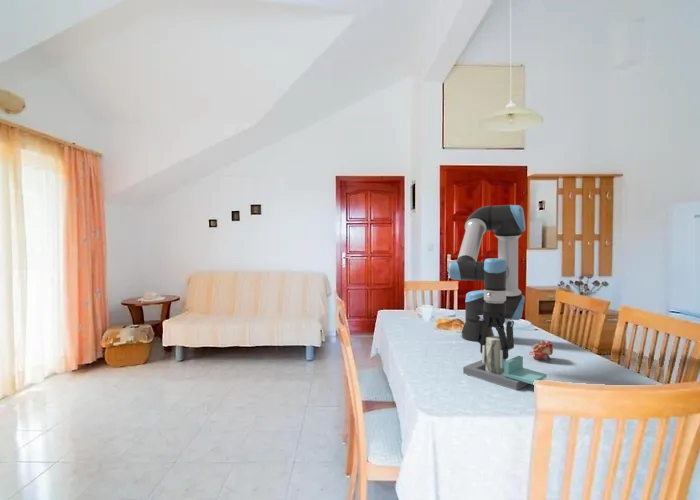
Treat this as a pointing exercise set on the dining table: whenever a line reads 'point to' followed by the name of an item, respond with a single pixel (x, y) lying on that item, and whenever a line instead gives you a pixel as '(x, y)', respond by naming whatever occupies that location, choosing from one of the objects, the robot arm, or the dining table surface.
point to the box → (493, 355)
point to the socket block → (492, 376)
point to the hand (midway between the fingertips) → (493, 364)
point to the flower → (542, 350)
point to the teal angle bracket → (521, 371)
